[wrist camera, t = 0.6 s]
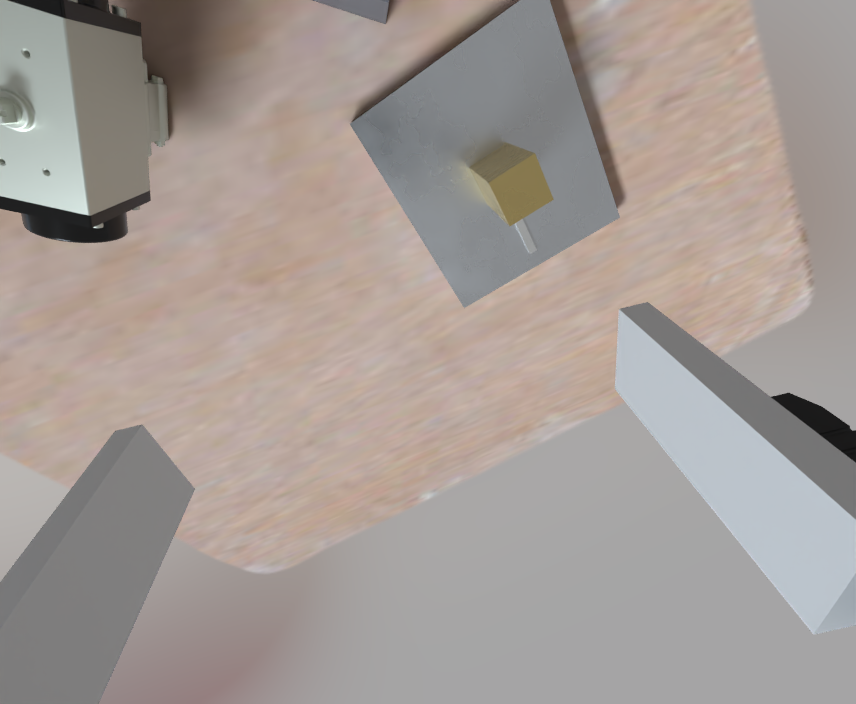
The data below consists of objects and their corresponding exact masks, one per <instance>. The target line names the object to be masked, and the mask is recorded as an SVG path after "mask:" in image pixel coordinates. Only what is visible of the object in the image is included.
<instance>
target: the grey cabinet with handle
mask: <svg viewBox="0 0 856 704" xmlns="http://www.w3.org/2000/svg"><path fill="white" fill-rule="evenodd" d="M313 1H316V2H319V3H322V4H325V5H328V6H332V7H335V8H338V9H341V10H344V11H347V12H350V13H353V14H356V15H359V16H362V17H365V18H368V19H371V20H374V21H377V22H380V23H383V24H386V19H387V12H388V6H389V0H313Z"/></svg>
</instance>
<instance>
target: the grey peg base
mask: <svg viewBox="0 0 856 704" xmlns="http://www.w3.org/2000/svg"><path fill="white" fill-rule="evenodd" d="M350 125H351V127H352V128H353V130H354V131H355V133H356V135H357V136H358V138H359V139H360V141H361V143H362V144H363V146H364V147H365V149H366V151H367V152H368V154H369V156H370V157H371V159H372V160H373V162H374V164H375V165H376V167H377V168H378V170H379V172H380V173H381V175H382V176H383V178H384V180H385V181H386V183H387V184H388V186H389V188H390V189H391V191H392V192H393V194H394V196H395V197H396V199H397V201H398V202H399V204H400V205H401V207H402V209H403V210H404V212H405V213H406V215H407V217H408V218H409V220H410V221H411V223H412V225H413V226H414V228H415V229H416V231H417V233H418V234H419V236H420V238H421V239H422V241H423V242H424V244H425V246H426V247H427V249H428V250H429V252H430V254H431V255H432V257H433V258H434V260H435V262H436V263H437V265H438V266H439V268H440V270H441V271H442V273H443V274H444V276H445V278H446V279H447V281H448V283H449V284H450V286H451V287H452V289H453V291H454V292H455V294H456V295H457V297H458V299H459V300H460V302H461V303H462V305H463V307H464V308H465V307H467V306H468V305H470V304H472V303H473V302H475V301H477V300H479V299H480V298H482V297H484V296H485V295H487V294H489V293H491V292H492V291H494V290H496V289H498V288H499V287H501V286H503V285H504V284H506V283H508V282H510V281H511V280H513V279H515V278H516V277H518V276H520V275H522V274H523V273H525V272H527V271H528V270H530V269H532V268H534V267H535V266H537V265H539V264H541V263H542V262H544V261H546V260H547V259H549V258H551V257H553V256H554V255H556V254H558V253H559V252H561V251H563V250H565V249H566V248H568V247H570V246H572V245H573V244H575V243H577V242H578V241H580V240H582V239H584V238H585V237H587V236H589V235H590V234H592V233H594V232H596V231H597V230H599V229H601V228H602V227H604V226H606V225H608V224H609V223H611V222H613V221H615V220H616V219H618V218H620V216H619V213H618V210H617V207H616V204H615V201H614V198H613V195H612V191H611V188H610V185H609V182H608V179H607V176H606V173H605V170H604V167H603V164H602V160H601V157H600V154H599V151H598V148H597V145H596V142H595V139H594V136H593V133H592V129H591V126H590V123H589V120H588V117H587V114H586V111H585V108H584V105H583V102H582V98H581V95H580V92H579V89H578V86H577V83H576V80H575V77H574V74H573V71H572V67H571V64H570V61H569V58H568V55H567V52H566V49H565V46H564V43H563V40H562V36H561V33H560V30H559V27H558V24H557V21H556V18H555V15H554V12H553V9H552V5H551V2H550V0H519V1H518V2H516V3H515V4H514V5H512V6H511V7H510V8H508V9H507V10H505V11H504V12H503V13H501V14H500V15H499V16H497V17H496V18H494V19H493V20H492V21H490V22H489V23H488V24H486V25H485V26H483V27H482V28H481V29H479V30H478V31H477V32H475V33H474V34H472V35H471V36H470V37H468V38H467V39H466V40H464V41H463V42H461V43H460V44H459V45H457V46H456V47H455V48H453V49H452V50H450V51H449V52H448V53H446V54H445V55H444V56H442V57H441V58H439V59H438V60H437V61H435V62H434V63H433V64H431V65H430V66H428V67H427V68H426V69H424V70H423V71H422V72H420V73H419V74H417V75H416V76H415V77H413V78H412V79H411V80H409V81H408V82H406V83H405V84H404V85H402V86H401V87H400V88H398V89H397V90H395V91H394V92H393V93H391V94H390V95H389V96H387V97H386V98H384V99H383V100H382V101H380V102H379V103H378V104H376V105H375V106H374V107H372V108H371V109H369V110H368V111H367V112H365V113H364V114H363V115H361V116H360V117H358V118H357V119H356V120H354V121H353V122H352V123H350Z"/></svg>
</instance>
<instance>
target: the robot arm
mask: <svg viewBox="0 0 856 704" xmlns="http://www.w3.org/2000/svg"><path fill="white" fill-rule="evenodd" d="M615 390H616V391H617V392H618V393H619V395H620V396H621V397H622V398H623V400H624V401H625V402H626V403H627V404H628V405H629V407H630V408H631V409H632V411H633V412H634V413H635V414H636V415H637V417H638V418H639V419H640V420H641V422H642V423H643V424H644V425H645V427H646V428H647V429H648V430H649V432H650V433H651V434H652V435H653V437H654V438H655V439H656V440H657V442H658V443H659V444H660V445H661V446H662V447H663V449H664V450H665V451H666V452H667V454H668V455H669V456H670V457H671V459H672V460H673V461H674V463H675V464H676V465H677V466H678V467H679V469H680V470H681V471H682V472H683V474H684V475H685V476H686V477H687V479H688V480H689V481H690V482H691V484H692V485H693V486H694V487H695V488H696V490H697V491H698V492H699V493H700V495H701V496H702V497H703V498H704V500H705V501H706V502H707V503H708V504H709V506H710V507H711V508H712V509H713V511H714V512H715V513H716V514H717V516H718V517H719V518H720V519H721V521H722V522H723V523H724V524H725V525H726V527H727V528H728V529H729V530H730V532H731V533H732V534H733V535H734V537H735V538H736V539H737V540H738V542H739V543H740V544H741V545H742V547H743V548H744V549H745V550H746V552H747V553H748V554H749V555H750V556H751V558H752V559H753V560H754V561H755V563H756V564H757V565H758V566H759V568H760V569H761V570H762V571H763V573H764V574H765V575H766V576H767V577H768V579H769V580H770V581H771V582H772V584H773V585H774V586H775V587H776V589H777V590H778V591H779V592H780V594H781V595H782V596H783V597H784V598H785V600H786V601H787V602H788V603H789V605H790V606H791V607H792V608H793V610H794V611H795V612H796V613H797V615H798V616H799V617H800V618H801V620H802V621H803V622H804V623H805V624H806V626H807V627H808V628H809V629H810V631H811V632H812V633H813V634H818V633H823V632H827V631H832V630H836V629H841V628H845V627H850V626H854V625H856V431H852V430H851V429H850V426H849V425H847V424H846V423H844V422H843V421H841V420H840V419H839V418H837V417H836V416H834V415H833V414H832V413H830V412H829V411H827V410H826V409H825V408H823V407H821V406H819V405H817V404H814V403H812V402H809V401H807V400H805V399H802V398H800V397H797V396H795V395H793V394H790V393H786V394H782V395H778V396H773V397H770V396H768V395H767V394H766V393H764V392H763V391H762V390H761V389H760V388H758V387H757V386H756V385H754V384H753V383H752V382H750V381H749V380H748V379H747V378H745V377H744V376H743V375H741V374H740V373H739V372H738V371H736V370H735V369H734V368H732V367H731V366H730V365H728V364H727V363H726V362H724V361H723V360H722V359H721V358H719V357H718V356H717V355H715V354H714V353H713V352H712V351H710V350H709V349H708V348H706V347H705V346H704V345H703V344H701V343H700V342H699V341H697V340H696V339H695V338H693V337H692V336H691V335H690V334H688V333H687V332H686V331H684V330H683V329H682V328H680V327H679V326H678V325H677V324H675V323H674V322H673V321H671V320H670V319H669V318H668V317H666V316H665V315H664V314H662V313H661V312H660V311H658V310H657V309H656V308H655V307H653V306H652V305H651V304H649V303H648V302H646V303H642V304H638V305H634V306H630V307H625V308H621V309H619V320H618V340H617V359H616V379H615ZM194 490H195V488H194V487H193V486H192V485H191V483H190V482H189V481H188V480H187V479H186V477H185V476H184V475H183V474H182V472H181V471H180V470H179V469H178V468H177V466H176V465H175V464H174V463H173V462H172V460H171V459H170V458H169V457H168V455H167V454H166V453H165V452H164V451H163V449H162V448H161V447H160V446H159V444H158V443H157V442H156V441H155V440H154V438H153V437H152V436H151V435H150V433H149V432H148V431H147V430H146V429H145V427H144V426H143V425H138V426H134V427H130V428H126V429H122V430H117V431H115V432H114V433H113V434H112V436H111V437H110V438H109V440H108V441H107V442H106V444H105V445H104V446H103V448H102V449H101V450H100V452H99V453H98V454H97V456H96V457H95V458H94V459H93V461H92V462H91V463H90V465H89V466H88V467H87V469H86V470H85V471H84V473H83V474H82V475H81V477H80V478H79V479H78V481H77V482H76V483H75V485H74V486H73V487H72V488H71V490H70V491H69V492H68V494H67V495H66V496H65V498H64V499H63V501H62V502H61V503H60V505H59V506H58V507H57V508H56V510H55V511H54V512H53V514H52V515H51V516H50V517H49V519H48V520H47V522H46V523H45V524H44V525H43V527H42V528H41V529H40V531H39V532H38V533H37V535H36V536H35V537H34V539H33V540H32V541H31V542H30V544H29V545H28V547H27V548H26V549H25V550H24V552H23V553H22V554H21V556H20V557H19V558H18V560H17V561H16V562H15V564H14V565H13V566H12V568H11V569H10V570H9V571H8V573H7V574H6V575H5V577H4V578H3V579H2V581H1V582H0V704H99V702H100V700H101V697H102V695H103V693H104V691H105V688H106V686H107V684H108V682H109V680H110V677H111V675H112V673H113V671H114V668H115V666H116V664H117V661H118V659H119V657H120V655H121V653H122V651H123V648H124V646H125V644H126V642H127V639H128V637H129V635H130V633H131V630H132V628H133V626H134V624H135V622H136V619H137V617H138V615H139V613H140V610H141V608H142V606H143V604H144V601H145V599H146V597H147V594H148V593H149V590H150V588H151V586H152V584H153V581H154V579H155V577H156V575H157V572H158V570H159V568H160V566H161V563H162V561H163V559H164V557H165V555H166V552H167V550H168V548H169V546H170V543H171V541H172V539H173V537H174V535H175V532H176V530H177V528H178V526H179V523H180V521H181V519H182V517H183V514H184V512H185V510H186V508H187V506H188V503H189V501H190V499H191V497H192V494H193V492H194Z"/></svg>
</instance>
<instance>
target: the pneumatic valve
mask: <svg viewBox="0 0 856 704" xmlns="http://www.w3.org/2000/svg"><path fill="white" fill-rule="evenodd" d="M112 13H113V14H112ZM112 13H110V11H109V4H108V0H0V209H4V210H9V211H14V212H18V213H21V215H22V220H23V224H24V226H25V228H26V229H27V230H29V231H30V232H32V233H34V234H36V235H39V236H42V237H46V238H49V239H54V240H59V241H67V242H78V243H98V242H108V241H113V240H117V239H120V238H122V237H124V236H125V235H126V234H127V233H128V226H127V214H126V212H127V211H129V210H140V205H142V204H144V203H147V202H149V201H151V199H150V181H149V164H148V157H149V156H151V155H152V154H151V142H154V143H155V144H157V146H159V147H163V145H165V141H166V140H169V137H168V106H167V85H165V84H164V83H163V78H161V77H158V76H154V75H151V79H150V80H148V77H147V63H146V61H145V60H144V59H143V56H142V39H141V23H140V22H137V21H134V20H131V19H128V18H127V12H126V9H124V8H121V7H118V6H114V5H112ZM115 14H116V15H115Z"/></svg>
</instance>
